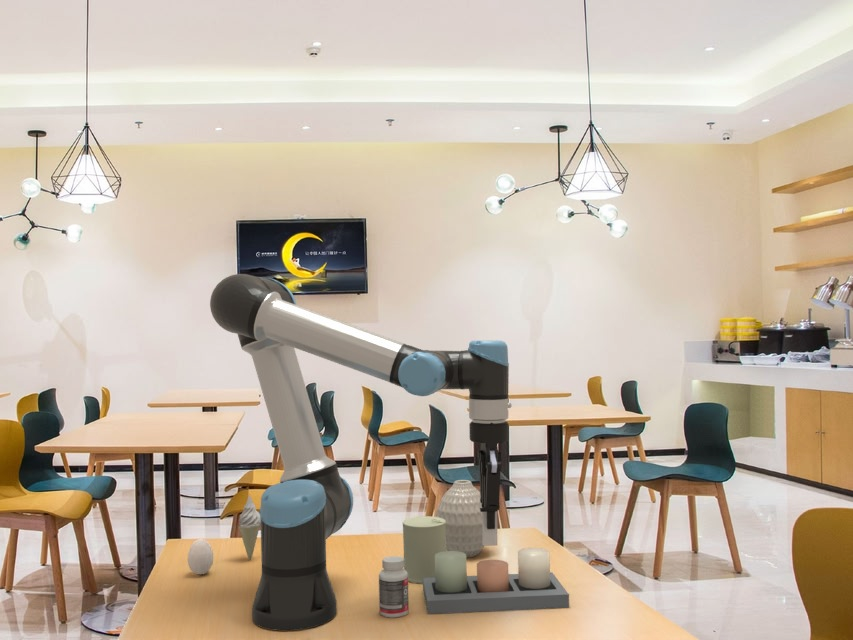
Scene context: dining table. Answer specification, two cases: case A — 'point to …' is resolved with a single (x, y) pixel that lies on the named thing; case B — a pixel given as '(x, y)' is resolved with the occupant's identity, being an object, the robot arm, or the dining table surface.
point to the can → (422, 546)
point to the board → (494, 597)
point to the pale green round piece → (450, 571)
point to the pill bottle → (393, 588)
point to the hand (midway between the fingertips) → (489, 544)
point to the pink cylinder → (492, 576)
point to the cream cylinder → (534, 568)
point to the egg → (200, 557)
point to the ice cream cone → (249, 526)
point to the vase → (462, 518)
